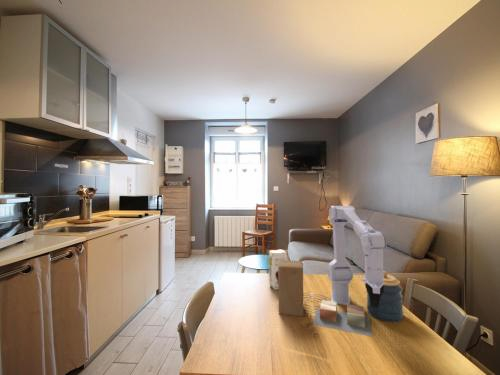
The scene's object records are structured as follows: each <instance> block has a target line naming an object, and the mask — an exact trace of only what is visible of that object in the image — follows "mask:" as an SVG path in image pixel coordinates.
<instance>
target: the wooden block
mask: <svg viewBox="0 0 500 375" xmlns="http://www.w3.org/2000/svg"><path fill="white" fill-rule="evenodd" d="M277 291H278V295H277V296H278V314H279V315H284V316H290V317H291V316H292V317H303V316H304V263H303V261H301V260H288V259H287V260H281V261H280V263H279V267H278V290H277Z"/></svg>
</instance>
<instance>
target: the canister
mask: <svg viewBox="0 0 500 375" xmlns="http://www.w3.org/2000/svg"><path fill="white" fill-rule="evenodd" d="M383 275H384V285H383V288H384V292H383V294H382V295H381V298H380V302H379V306H378V308H377V307H372V306H371V303H370V297H369V294H368V291H367V290H366V309H367V313H368V314H369V315H370V316H372V318H375V319H377V320H380V321H384V322H387V323H388V322H389V323H390V322H391V323H397V322H401V321H402V320H403V318H404V309H403V304H404V303H403V300H404V297H403V295H402V292H403V287H402V286H401V285H400V284H401V281H400V280H399V279H398V278H396V277H395V276H393V275H391V274H388V273H387V271H385V270H383Z"/></svg>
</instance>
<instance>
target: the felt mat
mask: <svg viewBox="0 0 500 375" xmlns="http://www.w3.org/2000/svg"><path fill="white" fill-rule="evenodd" d="M312 325H314V326H320V327H324V328H329V329H334V330H338V331H343V332H347V333H354V334H357V335H358V334H359V335H363V336H368V337H373V333H372V328H371V320H370V316H368V315H365V327H360V326H355V325H350V324H347V311H339V310H337V316H336V322H334V321H329V320H324V319H320V307H317V308H316V310H315V315H314V319H313V322H312Z"/></svg>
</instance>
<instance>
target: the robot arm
mask: <svg viewBox="0 0 500 375" xmlns="http://www.w3.org/2000/svg"><path fill="white" fill-rule="evenodd" d="M328 220H329V223H330V224H331V225H332V239H333V260H332V261H330V262H329V263H328V266H327V276H328V279H329V281H330V282H331V299H330V301H332V302H337V305H344V306H347V304H350V305H351V296H350V290H349V289H350V286H349V285H350V283H351V282H352V280H353V278H354V272H353V268H352V264H351V263H350V262H348V261H347V258H346V241H345V238H346V237H345V236H346V235H345V226H346V225H347V224H348V223H349V224H350V225H352V226H353V227H352V229H353V231H354V233H355V234H356V235H357V236H358V238H360V243H361V246H362V252H363V254H364V277H361V281H362V282H365V283H364V285H365V289H366V291H368V294H369V297H370V303H371V306H372V307H377V308H378V306H379V302H380V298H381V295H382V294H383V292H384V288H383V285H384V275H383V271H384V249H386V248H387V245H388V241H387V240H388V239H387V237H386V235H385V233H384V232H383V231H379V230H375V229H374V228H373V227H372V225H370V224H369V223H368V221H366V220H361V219H360V217H359V215H357V213H356V208H355V206H353V205H331V206H330V208H329V211H328Z"/></svg>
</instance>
